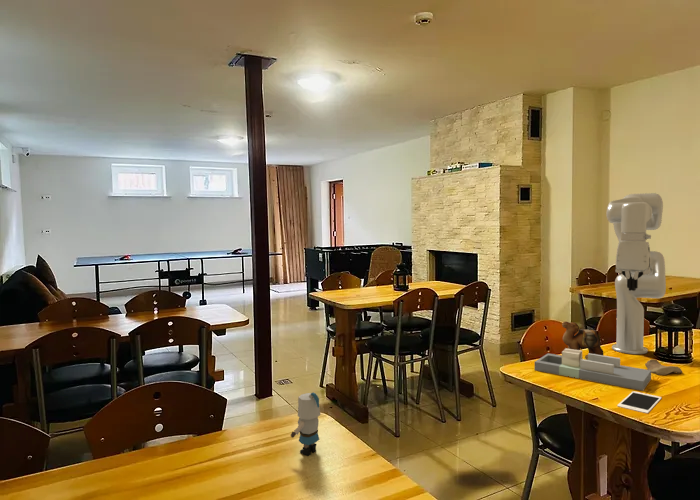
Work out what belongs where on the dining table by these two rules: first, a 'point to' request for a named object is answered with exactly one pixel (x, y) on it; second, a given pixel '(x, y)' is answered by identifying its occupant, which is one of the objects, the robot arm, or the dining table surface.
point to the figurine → (581, 339)
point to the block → (571, 357)
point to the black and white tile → (639, 402)
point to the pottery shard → (661, 368)
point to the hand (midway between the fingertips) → (632, 290)
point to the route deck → (597, 370)
